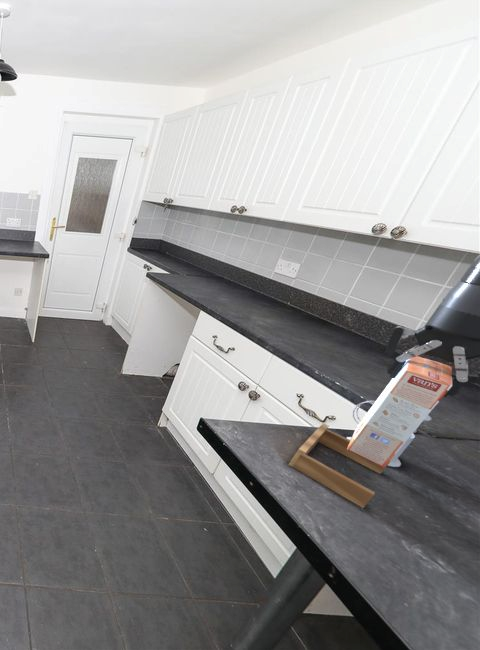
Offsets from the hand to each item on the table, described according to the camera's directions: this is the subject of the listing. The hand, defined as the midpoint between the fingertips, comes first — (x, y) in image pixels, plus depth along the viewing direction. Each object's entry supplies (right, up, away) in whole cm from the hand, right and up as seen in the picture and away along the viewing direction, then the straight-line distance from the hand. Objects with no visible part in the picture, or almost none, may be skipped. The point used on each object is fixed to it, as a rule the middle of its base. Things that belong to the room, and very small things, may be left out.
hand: (417, 385), depth 66 cm
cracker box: (-2, -15, +7) cm, 17 cm away
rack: (-4, -22, +12) cm, 25 cm away
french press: (+13, -21, +19) cm, 31 cm away
